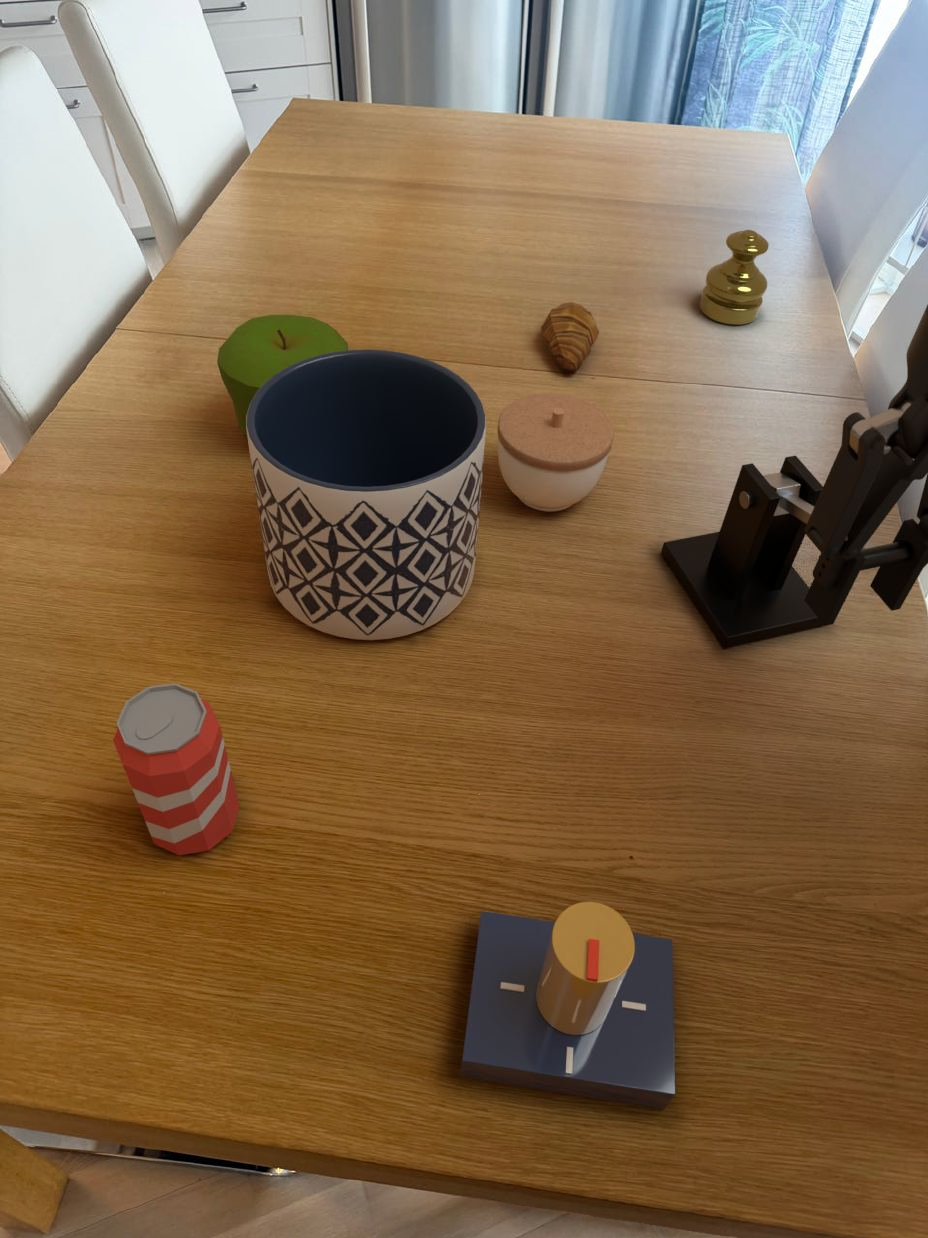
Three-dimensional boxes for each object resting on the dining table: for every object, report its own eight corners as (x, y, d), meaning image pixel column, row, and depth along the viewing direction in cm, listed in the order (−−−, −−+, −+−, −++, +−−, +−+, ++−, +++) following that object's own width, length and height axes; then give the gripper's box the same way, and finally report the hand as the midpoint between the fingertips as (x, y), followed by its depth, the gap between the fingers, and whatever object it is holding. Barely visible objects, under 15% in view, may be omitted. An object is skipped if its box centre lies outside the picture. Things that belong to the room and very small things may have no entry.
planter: (298, 669, 74) (278, 514, 62) (247, 524, 85) (222, 368, 73) (506, 614, 79) (525, 461, 67) (432, 484, 90) (437, 333, 78)
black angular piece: (824, 626, 80) (881, 514, 71) (722, 649, 78) (767, 537, 68) (754, 535, 88) (797, 423, 78) (660, 553, 85) (692, 441, 76)
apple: (260, 480, 90) (246, 379, 81) (211, 414, 96) (193, 315, 88) (374, 442, 95) (371, 343, 86) (319, 381, 101) (312, 284, 93)
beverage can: (129, 821, 64) (86, 719, 56) (204, 765, 68) (174, 660, 59) (183, 877, 62) (147, 779, 53) (258, 816, 65) (236, 714, 56)
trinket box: (597, 535, 87) (613, 455, 80) (484, 518, 88) (491, 437, 81) (604, 465, 94) (621, 386, 87) (500, 450, 95) (508, 370, 88)
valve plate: (662, 958, 60) (673, 938, 57) (664, 1110, 54) (676, 1094, 51) (478, 930, 60) (481, 909, 58) (459, 1077, 54) (462, 1060, 52)
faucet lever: (910, 569, 65) (917, 539, 64) (850, 582, 64) (856, 552, 63) (791, 496, 77) (794, 469, 76) (738, 506, 76) (741, 478, 75)
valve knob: (538, 955, 56) (555, 893, 50) (610, 966, 56) (636, 905, 50) (532, 1029, 53) (549, 973, 47) (608, 1041, 53) (635, 986, 47)
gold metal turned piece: (746, 295, 119) (769, 218, 112) (766, 325, 114) (791, 247, 107) (691, 296, 118) (710, 218, 111) (709, 327, 113) (730, 248, 106)
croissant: (540, 314, 113) (545, 275, 110) (595, 319, 113) (602, 280, 109) (537, 375, 104) (542, 335, 100) (597, 381, 104) (604, 341, 100)
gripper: (905, 371, 47) (771, 667, 64) (1178, 329, 51) (985, 616, 68) (823, 299, 52) (719, 592, 69) (1079, 266, 56) (922, 549, 73)
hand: (852, 604), depth 68 cm, fingers closed on faucet lever, 5 cm apart
